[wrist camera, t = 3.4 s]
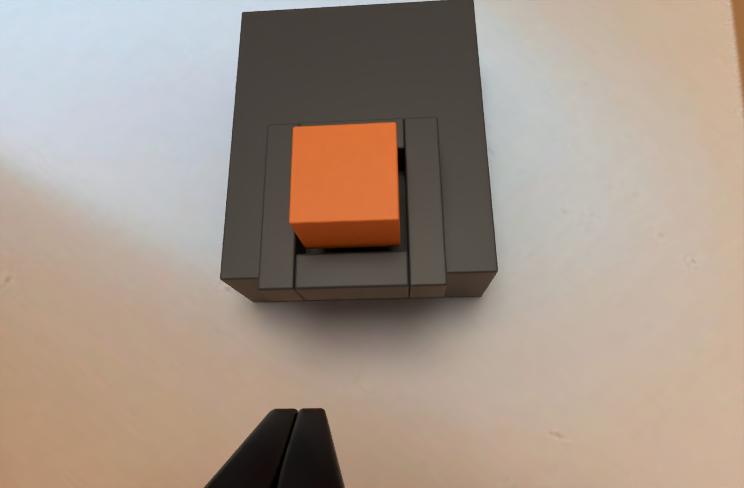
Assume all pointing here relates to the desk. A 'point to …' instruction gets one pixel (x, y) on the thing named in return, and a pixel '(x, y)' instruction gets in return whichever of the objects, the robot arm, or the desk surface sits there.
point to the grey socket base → (360, 106)
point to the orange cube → (345, 186)
